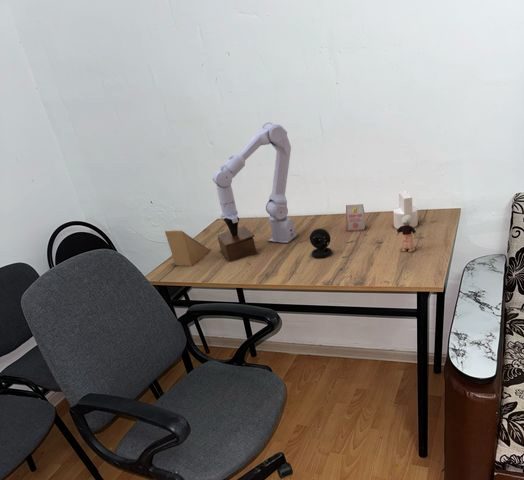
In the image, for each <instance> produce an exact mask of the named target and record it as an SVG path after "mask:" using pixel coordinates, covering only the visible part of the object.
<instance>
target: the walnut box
mask: <svg viewBox="0 0 524 480" xmlns="http://www.w3.org/2000/svg"><path fill="white" fill-rule="evenodd" d="M217 241H218V244H219V248H220V251H221V253H222V254H223V255H224V257H225V258H226V259H227V261H228V262H229V263H230V262H233V261H236V260H240V259H243V258H247V257H249V256H253V255H255V254H257V248H256V244H255V238H254V237H253V238H250V239H247V240H244V241H241V242H238V243H235V244H233V245H230V246H227V247H226V246H225V245H224V244H223V243H222V241H221V240H220V239H219V238H218V237H217Z"/></svg>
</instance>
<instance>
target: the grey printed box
mask: <svg viewBox="0 0 524 480" xmlns="http://www.w3.org/2000/svg"><path fill="white" fill-rule="evenodd" d="M364 208H365V207H364V204H362V203H358V204H346V205H345V221H346V222H345V223H346V224H345V225H346V231H347V232H353V231H354V232H355V231H358V232H359V231H365V229H366V214H365V209H364Z"/></svg>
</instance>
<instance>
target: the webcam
mask: <svg viewBox="0 0 524 480" xmlns="http://www.w3.org/2000/svg"><path fill="white" fill-rule="evenodd" d="M331 239H332V238H331V235H330V233H329V231H328V230H326V229H324V228H316V229H314V230H313V231H311V233H310V234H309V242H310V244H311V245H312V247H313V248H315V249H313V250H312V252H311V256H312V257H313V258H316V259H323V258H327V257H329V256H331V254H332V253H333V251H332V249H331V248H330V247H328V246H329V245H330V243H331Z"/></svg>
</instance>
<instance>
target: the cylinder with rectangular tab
mask: <svg viewBox="0 0 524 480" xmlns="http://www.w3.org/2000/svg"><path fill="white" fill-rule="evenodd" d="M418 212H419V209H418V207H417V206H414V205H413V196H412V195H411V194H410V193H409V191H407V190H403V191H398V207H396V208H394V209H393V227H394V228H395V229H396V230H397V229H398V228H399V227H401V226H405V225H404V224H403V223H402V222H401V221H402V218H403V217H404V216H406V215H410V216H411V223H410V226H412V227H413V228H414V229H415V228H416V227H417V226H418V223H419V222H418V221H419V218H418V217H419V213H418Z"/></svg>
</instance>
